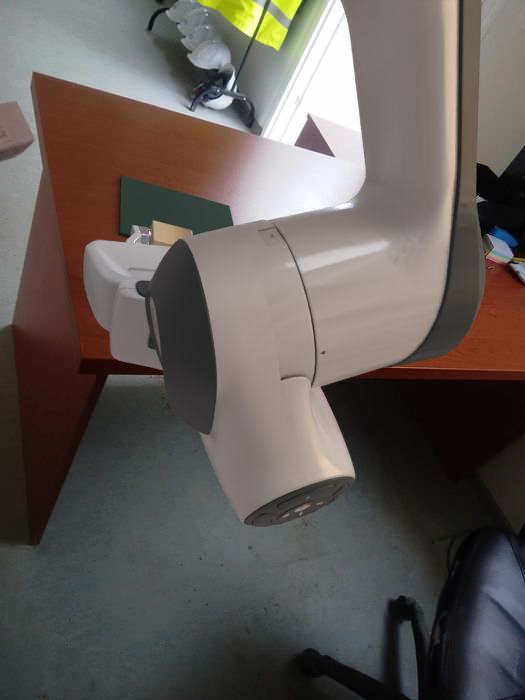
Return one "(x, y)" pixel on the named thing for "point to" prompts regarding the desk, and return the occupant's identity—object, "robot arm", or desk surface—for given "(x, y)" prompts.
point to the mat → (168, 208)
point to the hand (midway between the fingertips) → (186, 237)
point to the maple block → (167, 234)
